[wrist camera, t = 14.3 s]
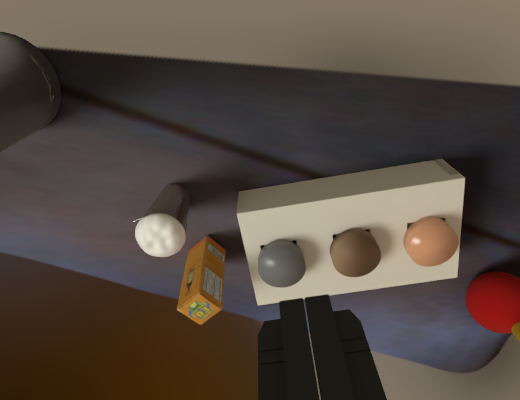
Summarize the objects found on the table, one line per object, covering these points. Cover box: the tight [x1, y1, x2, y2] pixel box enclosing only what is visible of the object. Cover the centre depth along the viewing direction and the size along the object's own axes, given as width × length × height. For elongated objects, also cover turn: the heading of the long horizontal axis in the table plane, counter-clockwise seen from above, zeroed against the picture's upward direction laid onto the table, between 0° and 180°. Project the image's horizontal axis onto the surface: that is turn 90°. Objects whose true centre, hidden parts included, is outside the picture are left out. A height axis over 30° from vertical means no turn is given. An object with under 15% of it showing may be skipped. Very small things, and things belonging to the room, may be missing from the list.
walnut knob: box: [330, 229, 381, 277], centre depth 41 cm, size 5×5×6 cm
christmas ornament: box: [466, 271, 520, 341], centre depth 44 cm, size 7×7×10 cm
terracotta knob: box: [403, 217, 459, 267], centre depth 40 cm, size 5×5×6 cm
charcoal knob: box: [258, 240, 306, 288], centre depth 41 cm, size 5×5×6 cm
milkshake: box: [133, 184, 191, 257], centre depth 37 cm, size 4×5×10 cm
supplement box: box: [177, 236, 226, 325], centre depth 41 cm, size 3×4×10 cm
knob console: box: [237, 159, 465, 305], centre depth 42 cm, size 22×12×5 cm, turn 100°
